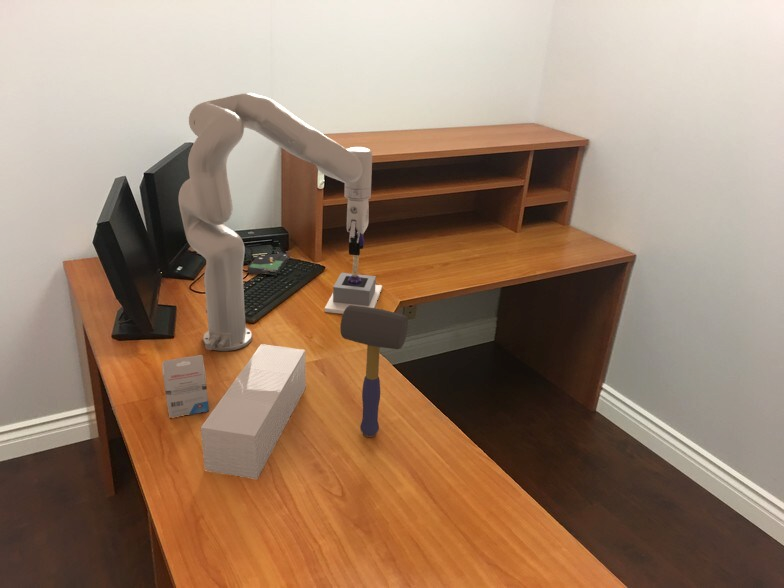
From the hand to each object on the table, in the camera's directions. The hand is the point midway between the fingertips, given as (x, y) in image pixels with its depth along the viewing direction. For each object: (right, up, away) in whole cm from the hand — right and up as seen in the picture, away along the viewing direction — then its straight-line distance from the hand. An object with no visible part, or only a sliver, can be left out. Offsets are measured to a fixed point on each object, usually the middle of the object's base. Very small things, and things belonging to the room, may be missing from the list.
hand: (356, 250), depth 185 cm
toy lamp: (0, -9, +5) cm, 11 cm away
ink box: (-35, -39, -47) cm, 70 cm away
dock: (-1, -15, +7) cm, 16 cm away
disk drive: (-31, -4, +27) cm, 42 cm away
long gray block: (-18, -42, -50) cm, 68 cm away
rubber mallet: (+6, -43, -51) cm, 67 cm away
